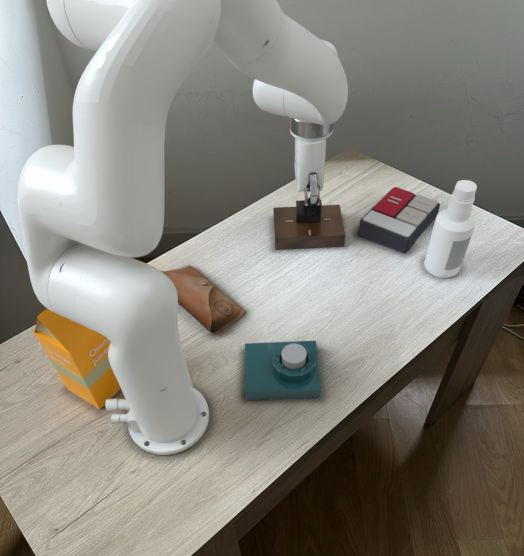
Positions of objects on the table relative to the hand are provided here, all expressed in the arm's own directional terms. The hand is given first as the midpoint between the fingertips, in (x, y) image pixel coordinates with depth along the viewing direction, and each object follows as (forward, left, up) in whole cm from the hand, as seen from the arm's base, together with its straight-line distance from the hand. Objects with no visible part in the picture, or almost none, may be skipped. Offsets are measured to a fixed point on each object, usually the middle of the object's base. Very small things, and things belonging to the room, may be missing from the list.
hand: (309, 204), depth 103 cm
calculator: (+19, +1, -7) cm, 20 cm away
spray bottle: (+25, -12, -7) cm, 29 cm away
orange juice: (-37, -36, -7) cm, 52 cm away
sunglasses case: (-22, -18, -7) cm, 29 cm away
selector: (0, 0, -7) cm, 7 cm away
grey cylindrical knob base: (-7, -36, -7) cm, 38 cm away
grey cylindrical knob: (-5, -36, -3) cm, 37 cm away
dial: (0, 0, -4) cm, 4 cm away
